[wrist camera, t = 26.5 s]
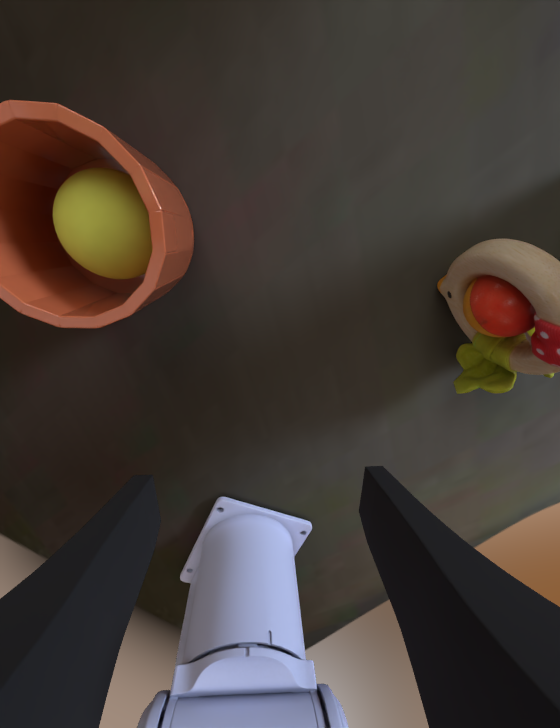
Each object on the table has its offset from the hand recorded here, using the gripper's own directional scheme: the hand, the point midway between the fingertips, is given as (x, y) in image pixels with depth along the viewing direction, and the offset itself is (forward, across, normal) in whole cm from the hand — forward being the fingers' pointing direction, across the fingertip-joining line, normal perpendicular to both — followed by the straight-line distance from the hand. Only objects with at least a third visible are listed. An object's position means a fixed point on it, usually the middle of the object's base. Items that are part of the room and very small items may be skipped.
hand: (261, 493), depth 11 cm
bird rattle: (+11, -13, -4) cm, 17 cm away
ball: (+8, +6, -8) cm, 13 cm away
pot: (+10, +7, -8) cm, 15 cm away
